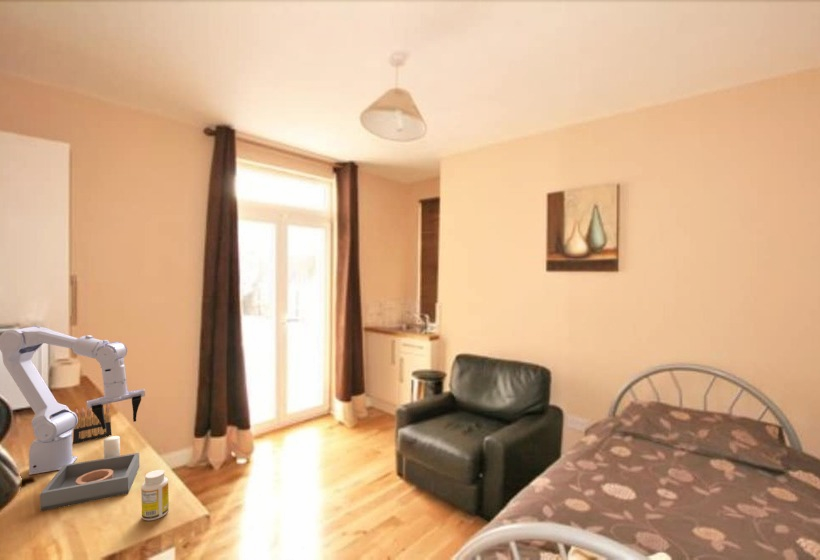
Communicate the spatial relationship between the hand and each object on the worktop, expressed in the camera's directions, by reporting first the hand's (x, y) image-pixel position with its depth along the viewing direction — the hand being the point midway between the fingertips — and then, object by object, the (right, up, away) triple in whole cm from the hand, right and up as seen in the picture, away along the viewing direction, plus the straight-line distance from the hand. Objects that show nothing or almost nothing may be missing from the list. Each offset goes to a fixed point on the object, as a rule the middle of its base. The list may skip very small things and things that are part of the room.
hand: (119, 424), depth 122 cm
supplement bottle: (+28, -13, -26) cm, 40 cm away
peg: (-2, -12, -1) cm, 12 cm away
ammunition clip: (-23, -12, +18) cm, 32 cm away
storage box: (+3, -12, -14) cm, 19 cm away
